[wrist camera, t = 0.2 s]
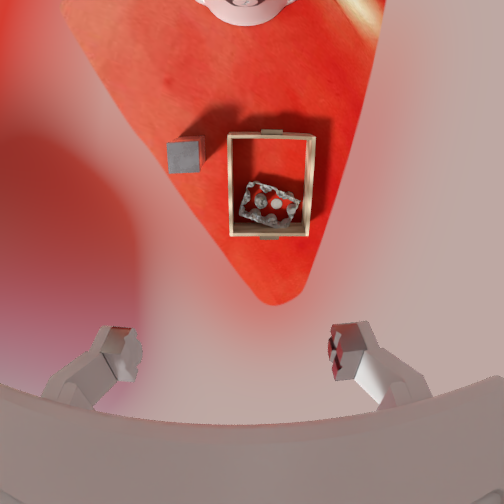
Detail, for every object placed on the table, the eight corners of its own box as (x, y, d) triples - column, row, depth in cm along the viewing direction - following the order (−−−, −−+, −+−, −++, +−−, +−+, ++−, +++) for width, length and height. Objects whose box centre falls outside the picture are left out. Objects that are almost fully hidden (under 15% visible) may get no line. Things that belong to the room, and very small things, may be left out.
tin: (178, 136, 51) (166, 143, 44) (205, 134, 51) (198, 141, 44) (179, 162, 54) (168, 173, 47) (206, 161, 54) (199, 172, 47)
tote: (229, 127, 51) (227, 129, 46) (310, 128, 51) (316, 131, 47) (231, 229, 61) (229, 240, 57) (303, 229, 61) (308, 240, 57)
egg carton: (300, 194, 58) (303, 201, 54) (284, 226, 61) (287, 234, 58) (250, 174, 56) (250, 180, 52) (236, 208, 59) (235, 216, 56)
